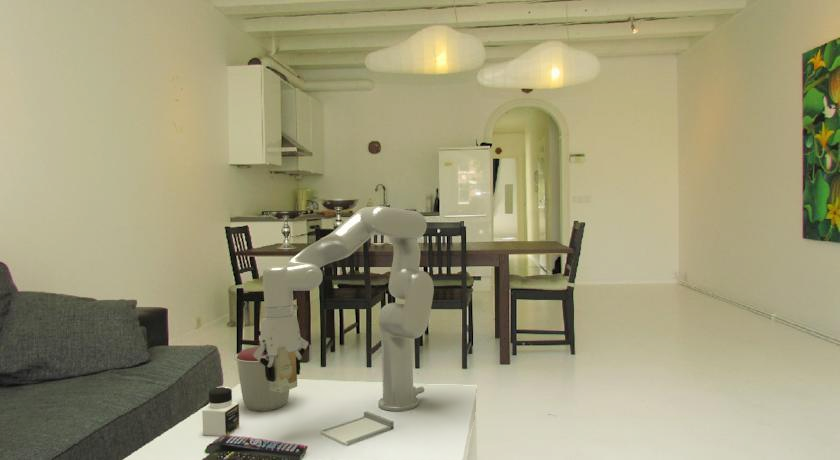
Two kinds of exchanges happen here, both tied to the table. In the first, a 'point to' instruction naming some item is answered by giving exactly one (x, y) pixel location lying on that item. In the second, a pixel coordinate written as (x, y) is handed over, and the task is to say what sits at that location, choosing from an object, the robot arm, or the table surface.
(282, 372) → the skincare box
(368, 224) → the robot arm
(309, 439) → the table surface
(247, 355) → the canister
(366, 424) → the mat
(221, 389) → the medicine bottle
